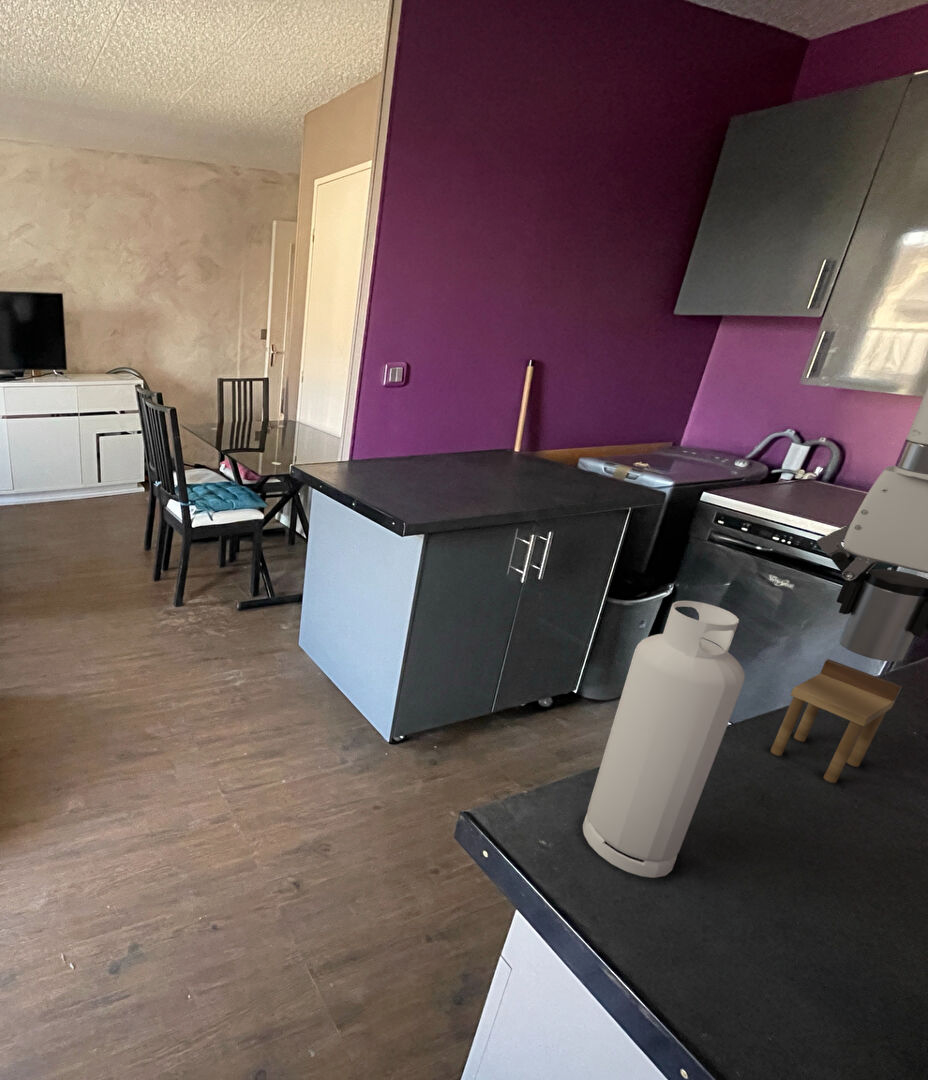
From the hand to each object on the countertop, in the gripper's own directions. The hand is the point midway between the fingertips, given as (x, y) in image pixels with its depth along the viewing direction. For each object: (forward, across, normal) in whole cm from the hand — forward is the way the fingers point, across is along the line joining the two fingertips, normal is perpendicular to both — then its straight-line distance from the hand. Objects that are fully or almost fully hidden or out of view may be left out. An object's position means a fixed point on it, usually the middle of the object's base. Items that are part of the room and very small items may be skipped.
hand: (883, 620), depth 65 cm
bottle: (+21, +4, +33) cm, 39 cm away
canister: (+4, 0, 0) cm, 4 cm away
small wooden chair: (+21, +1, -2) cm, 21 cm away
